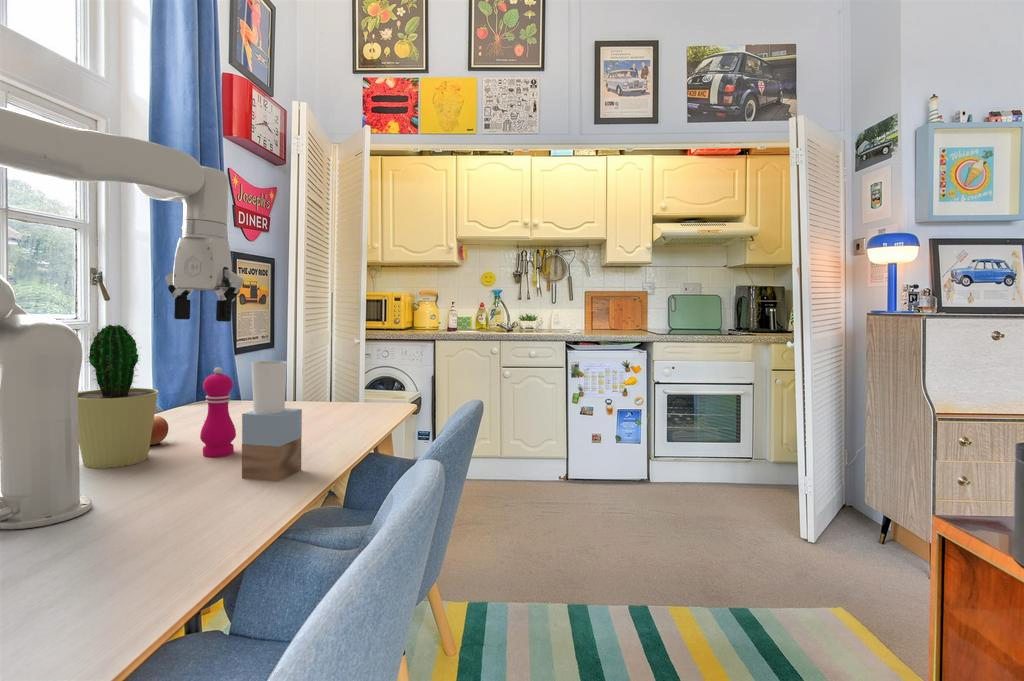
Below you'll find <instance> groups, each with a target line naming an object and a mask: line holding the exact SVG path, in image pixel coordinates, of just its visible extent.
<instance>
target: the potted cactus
mask: <svg viewBox="0 0 1024 681" xmlns="http://www.w3.org/2000/svg"><path fill="white" fill-rule="evenodd" d="M123 325H124V324H123ZM123 325H120V324H119V323H117V324H116V323H115V325H112V324H108V325H105V326H104V327H101V329H98V328H96V331H97V330H98V331H97V333H96V335H95V332H92V336H93V337H92V336H91V339H90V338H87V340H89V341H90V342H91V341H92V342H91V343H90V345H88V346H87V348H86V347H85V351H87V352H88V351H89V352H88V355H87V357H86V358H85V360H86V359H87V360H86V361H85V364H86V363H87V364H88V363H89V365H87V366H86V368H87V367H89V366H90V367H91V366H92V367H93V368H94V369H93V371H92V372H91V374H93V373H94V375H95V378H93V379H91V381H95V382H93V383H97V384H98V385H96V387H97V386H99V387H98V389H92V390H85V391H80V392H79V391H78V420H79V451H80V455H81V460H82V464H83V466H84V467H86V468H89V467H90V468H91V469H111V468H110V467H113V468H119V466H121V467H126V466H125V465H127V466H131V465H130V464H132V465H135V463H136V464H138V463H141V462H144V461H147V459H148V456H149V452H150V446H151V445H150V440H151V433H152V427H153V421H154V416H155V413H156V408H157V401H158V393H159V390H158V389H155V388H149V387H147V388H145V387H144V388H143V387H133V386H132V384H133V383H134V382H135V383H138V382H137V381H135V380H134V377H138V376H139V377H140V375H138V374H135V371H138V368H137V367H136V365H137V364H139V362H140V361H141V359H139V356H141V354H140V351H138V350H139V349H142V347H141V346H138V347H137V344H139V342H137V341H136V339H135V338H133V335H134V334H135V333H136V332H133V329H131V331H130V329H128V327H127V325H128V324H125V325H124V326H123ZM132 332H133V335H132ZM140 347H141V348H140ZM88 348H89V349H88Z"/></svg>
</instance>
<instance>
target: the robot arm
mask: <svg viewBox="0 0 1024 681" xmlns="http://www.w3.org/2000/svg"><path fill="white" fill-rule="evenodd" d="M0 167H1V168H2V167H3V168H7V169H13V170H14V169H15V170H18V171H23V172H27V173H33V174H36V175H42V176H46V177H50V178H55V179H57V180H58V179H59V180H62V181H71V182H80V183H81V182H82V183H83V182H84V183H99V182H117V183H126V184H133V185H134V187H135V188H136V189H137V190H138V192H140V193H141V194H142V195H144V196H146V197H147V198H150V199H153V200H158V201H167V202H168V201H170V202H179V203H183V210H182V211H183V212H182V214H183V215H182V216H183V217H182V218H183V219H182V227H181V228H180V232H181V234H182V237H179V239H178V241H177V246H176V248H175V253H174V261H173V272H171V273H169V274H167V275H165V278H164V279H165V282H166V285H167V286H168V287H167V290H168V291H169V292H170V294H171V298H172V299H173V300H174V315H173V316H174V320H190V319H191V299H189V298H190V296H191V294H192V293H193V292H194V291H204V292H207V291H208V292H215V295H216V296H217V297H218V299H219V300H216V308H215V309H216V310H215V320H216V321H217V322H231V321H232V302H235V300H236V297H237V296H238V294H240V291H241V289H242V286H243V283H244V281H245V279H244V278H243V277H242V276H240V275H238V274H236V273H235V272H233V265H232V264H233V263H232V255H231V252H232V251H231V247H230V242H229V241H228V215H229V213H228V212H229V210H228V209H229V177H228V175H227V174H226V172H224V171H223V170H220V169H218V168H215V167H209V166H202V165H201V164H200V162H199V161H198V160H197V159H196V158H194V157H193V156H192V155H190V154H188V153H187V152H185V151H182V150H179V149H175V148H173V147H171V146H165V145H163V144H161V143H160V144H159V143H156V142H151V141H149V140H144V139H141V138H140V139H139V138H135V137H132V136H131V137H130V136H126V135H119V134H114V133H107V132H102V131H97V130H91V129H86V128H84V129H83V128H78V127H74V126H71V125H66V124H62V123H59V122H55V121H51V120H49V119H46V118H45V119H44V118H41V117H37V116H34V115H31V114H27V113H23V112H20V111H16V110H13V109H10V108H6V107H2V106H0ZM15 294H16V293H15V291H14V289H13V287H12V286H11V284H10V283H9V281H8V280H6V279H5V278H4V277H3V276H2V275H1V274H0V371H1V379H0V529H1V530H21V529H31V528H38V527H39V528H40V527H44V526H49V525H53V524H58V523H61V522H66V521H68V520H71V519H74V518H77V517H79V516H81V515H83V514H85V513H86V512H88V511H89V510H90V509H92V506H93V502H92V498H91V497H89V496H86V495H82V494H81V488H80V486H81V484H80V480H81V478H80V445H79V420H78V393H79V382H80V376H81V368H82V363H83V347H82V343H81V340H80V338H79V336H78V334H77V333H76V332H75V331H74V330H73V328H71V327H69V326H68V325H67V324H66V323H63V322H61V321H60V320H57V319H54V318H49V317H43V316H32V315H31V314H30V313H29V312H28V311H26V310H25V309H24V308H22V307H21V306H20V305H19V304H17V303H16V298H17V297H16V295H15Z"/></svg>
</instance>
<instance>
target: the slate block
mask: <svg viewBox="0 0 1024 681" xmlns="http://www.w3.org/2000/svg"><path fill="white" fill-rule="evenodd" d="M302 414H303V409H302V408H289V407H285V409H284V412H281V413H274V414H257V413H254V410H251V411H247V412H244V413H241V445H242V444H251V445H264V446H277V447H279V446H282V445H284V444H287V443H289V442H292V441H294V440H297V439H299V438H301V439H302V438H303V437H302V436H303V435H302V434H303V432H302V430H303V429H302V423H303V422H302V420H303V419H302V417H303V415H302Z"/></svg>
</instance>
